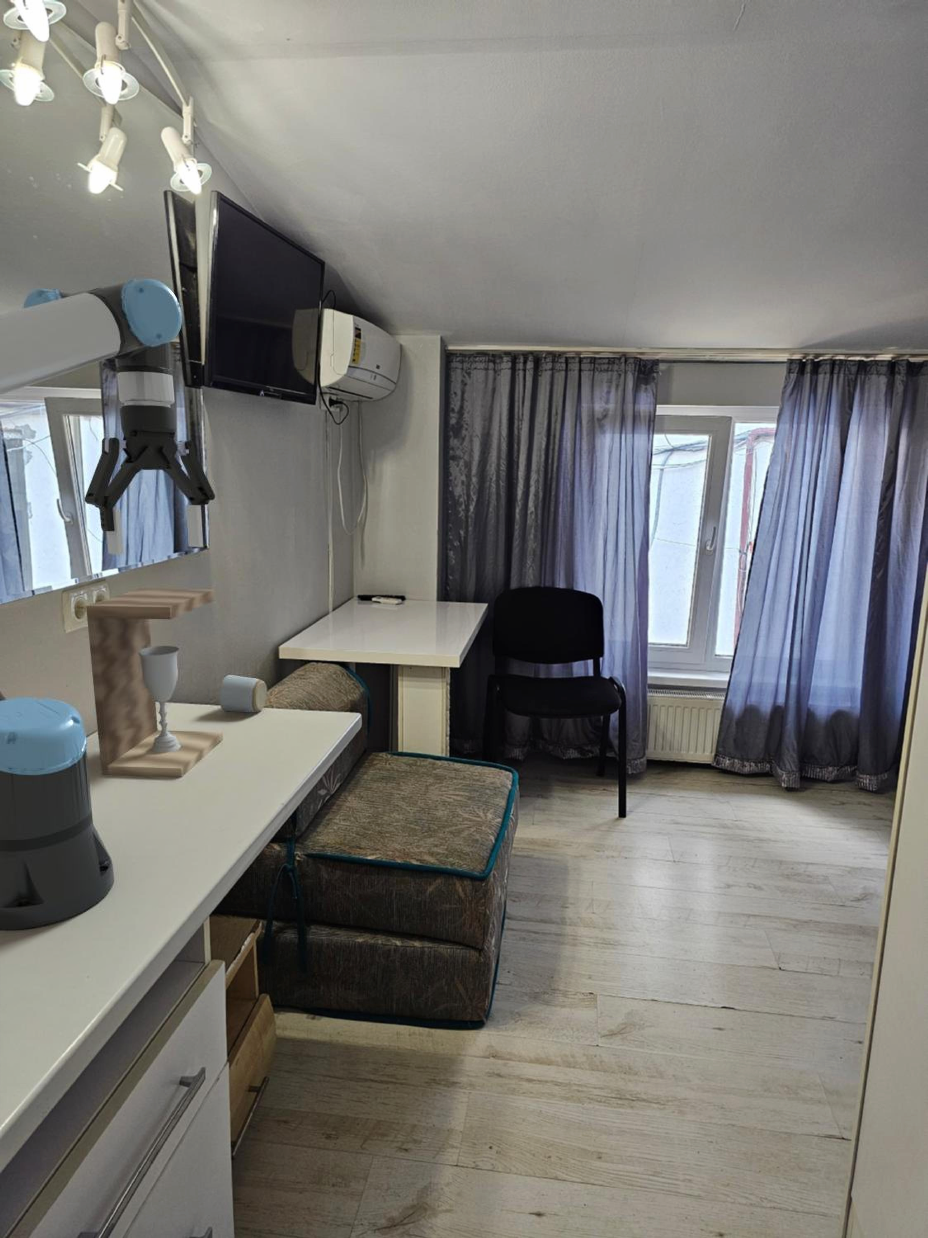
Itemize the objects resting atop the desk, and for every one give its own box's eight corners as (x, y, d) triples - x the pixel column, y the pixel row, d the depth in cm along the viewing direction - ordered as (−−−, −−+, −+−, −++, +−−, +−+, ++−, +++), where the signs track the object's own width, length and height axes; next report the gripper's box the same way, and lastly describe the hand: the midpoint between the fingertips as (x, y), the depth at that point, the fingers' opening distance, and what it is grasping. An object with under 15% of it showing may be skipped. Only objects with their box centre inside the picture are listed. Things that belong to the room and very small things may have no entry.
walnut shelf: (181, 776, 129) (169, 607, 123) (101, 774, 130) (86, 605, 124) (223, 739, 146) (214, 589, 140) (152, 737, 147) (140, 588, 142)
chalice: (144, 743, 140) (137, 647, 136) (184, 738, 142) (177, 644, 139) (145, 757, 133) (137, 657, 129) (187, 752, 136) (180, 653, 132)
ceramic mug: (256, 717, 159) (254, 681, 158) (218, 715, 160) (217, 679, 159) (275, 703, 170) (274, 669, 168) (240, 701, 171) (239, 667, 169)
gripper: (202, 411, 124) (210, 542, 128) (48, 400, 104) (63, 555, 108) (233, 409, 120) (240, 544, 124) (78, 397, 100) (93, 559, 104)
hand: (157, 550), depth 116 cm, fingers open, 13 cm apart
